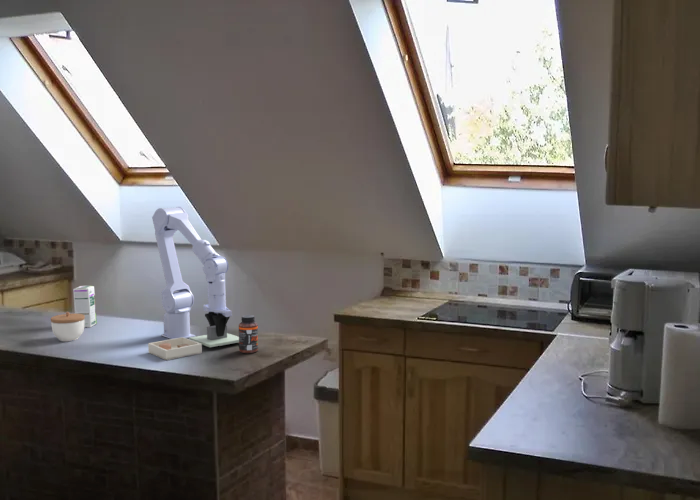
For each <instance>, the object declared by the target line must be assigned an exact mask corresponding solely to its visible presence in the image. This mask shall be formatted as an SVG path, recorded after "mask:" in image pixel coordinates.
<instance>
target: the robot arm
mask: <svg viewBox="0 0 700 500" xmlns="http://www.w3.org/2000/svg"><path fill="white" fill-rule="evenodd" d="M151 218H152V223H153V226H154V227H153V228H154V236H155V239H156V240H155V241H156V244H157V248H158V252H159V253H158V254H159V257H160V261H161V267H162V271H163V275H164V280H165V286H164V287H163V289H162V290H161V297H162V298H161V304H162V308H163V310H164V311H165V313H164V315H163V334H161V337H164V338H166V339H168V340H169V339H175V338H180V337H184V338H187V339H190V337H196V335H195V334H193V333H191V324H190V323H191V319H190V316H191V315H190V311H191V310H192V307H193V306H194V304H195V303H194V302H195V297H194V294H193V293H192V291H191V288H190V285H188V284H187V283H185V282H184V280H183V275H182V272H181V268H180V264H179V259H178V254H177V250H176V246H175V242H174V237H173V236H174V235H175V233H176V232H177V231H179V232H180V234H182V236H184V238H185V239H186V240H187V241H188V242H189V243H190V244H191V246H192V247H191V248H192V250H191V251H192V253H193V254H194V255H195V256H196V258H197V259H198V260H199V262H200V263H201V264H202V265H203V266H202V271H203V274H204V275H205V280H206V281H207V283H206V285H207V304H203V307H202V308H203V311H204V312H208V313H205V314H204V317H205V318H206V320H207V322H208V325H209V326H216V333H217V336H218V337H219V336H224V332H225V327H226V325H228V322H229V319H230V318H231V317H233V313H232V310H231V309H229V308H228V307H227V298H226V297H227V294H226V293H227V292H226V274H227V272H228V271H229V261H228V260H227V258H226V257H225V256H223V255H220V254H218V252H217V251H216V250H215V249H214V248H213V247H212V245H211V243H210V242H209V241H208V240H207V239H202V238H201V237H200V235H199V234H198V232H197V231H196V229H195V228H194V226H193V225H192V223H191V222H190V220H189V214H188V212H187V211H186V210H185V209H184V208H183V207H182V206H176V207H167V208H165V207H163V208H162V207H158V208H157V209H156V210H155V211H154V213H153V215H152V216H151Z"/></svg>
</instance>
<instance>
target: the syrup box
mask: <svg viewBox="0 0 700 500" xmlns="http://www.w3.org/2000/svg"><path fill="white" fill-rule="evenodd" d="M72 292H73V293H72V294H73V304H74V305H73V307H74V314H83V315H84V316H85V325H84V329H85V327H87V328H92V327H94V326H95V325H97V324H98V322H97V320H98V319H97V309H96V307H97V306H96V293H95V286H94V285H79V286H78V287H77V286H76V287H75V288H73V290H72Z"/></svg>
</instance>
